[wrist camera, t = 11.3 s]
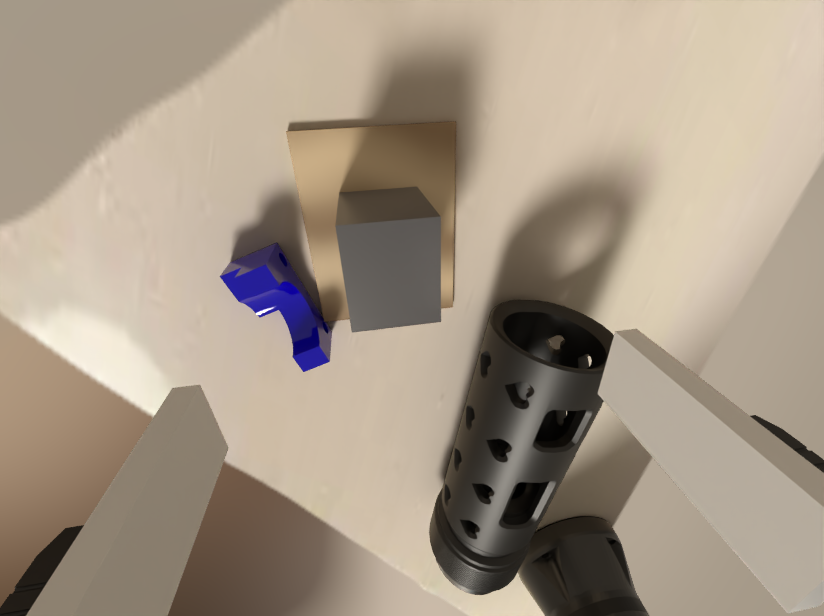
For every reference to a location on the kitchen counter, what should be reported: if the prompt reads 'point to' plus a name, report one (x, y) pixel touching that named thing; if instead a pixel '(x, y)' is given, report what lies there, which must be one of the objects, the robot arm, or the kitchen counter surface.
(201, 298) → the kitchen counter surface
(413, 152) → the mat
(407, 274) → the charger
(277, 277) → the cable holder
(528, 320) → the muzzle brake
